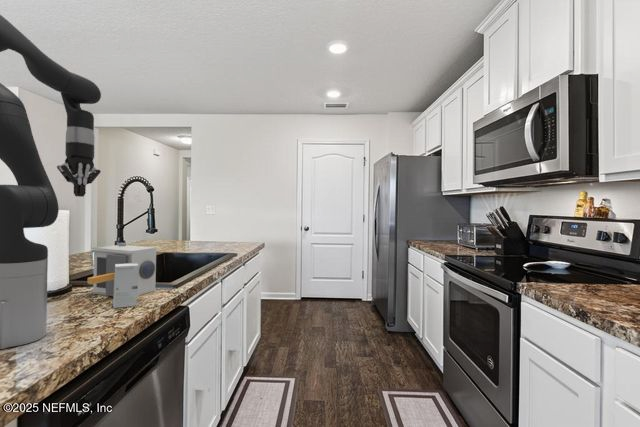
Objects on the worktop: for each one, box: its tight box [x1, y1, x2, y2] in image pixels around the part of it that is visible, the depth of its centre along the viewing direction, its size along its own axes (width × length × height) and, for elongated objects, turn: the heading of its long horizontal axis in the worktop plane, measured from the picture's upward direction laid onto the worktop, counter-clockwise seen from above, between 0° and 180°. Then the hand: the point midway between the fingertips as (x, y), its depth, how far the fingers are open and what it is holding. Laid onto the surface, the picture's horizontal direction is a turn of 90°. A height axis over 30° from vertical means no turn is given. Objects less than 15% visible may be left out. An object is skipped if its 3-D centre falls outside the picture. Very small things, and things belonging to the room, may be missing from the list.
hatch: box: [87, 254, 126, 297], centre depth 99 cm, size 9×7×13 cm
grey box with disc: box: [90, 242, 157, 297], centre depth 109 cm, size 11×17×16 cm, turn 73°
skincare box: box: [112, 263, 139, 309], centre depth 95 cm, size 6×4×12 cm
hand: (79, 196), depth 105 cm, fingers closed
